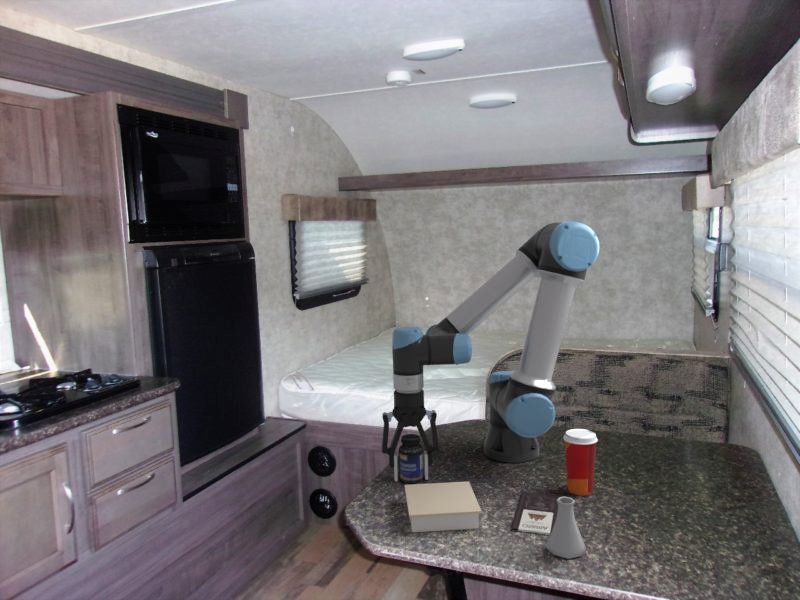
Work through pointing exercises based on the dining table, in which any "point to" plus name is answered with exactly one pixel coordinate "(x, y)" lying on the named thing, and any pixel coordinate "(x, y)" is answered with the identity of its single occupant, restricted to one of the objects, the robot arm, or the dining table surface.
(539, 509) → the chocolate bar
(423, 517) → the podium
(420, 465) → the pill bottle
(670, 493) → the dining table surface
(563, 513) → the flask
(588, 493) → the paper cup
